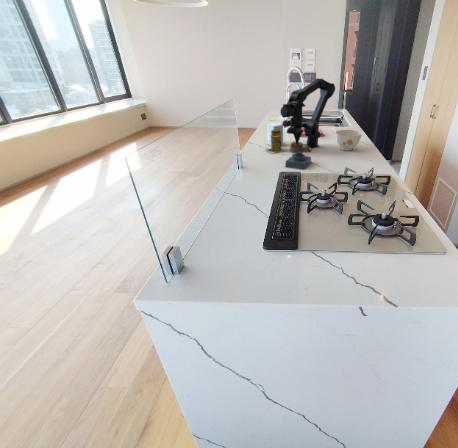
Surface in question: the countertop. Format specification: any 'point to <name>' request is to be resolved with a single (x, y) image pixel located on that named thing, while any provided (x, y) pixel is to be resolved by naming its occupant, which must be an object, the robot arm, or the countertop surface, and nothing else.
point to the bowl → (348, 138)
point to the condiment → (275, 141)
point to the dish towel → (304, 132)
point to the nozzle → (298, 153)
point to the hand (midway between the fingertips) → (297, 142)
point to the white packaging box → (274, 127)
